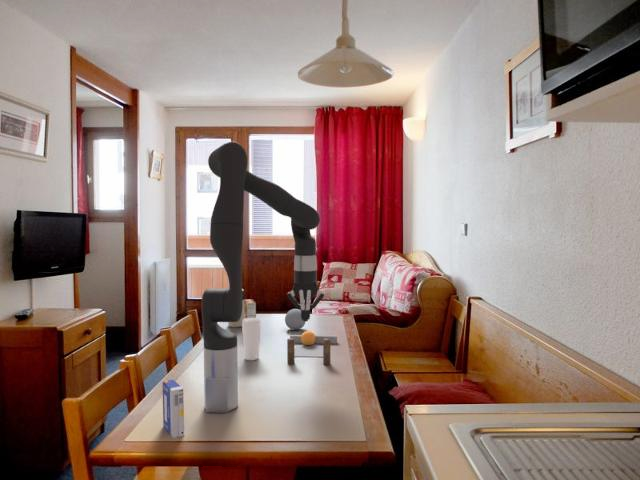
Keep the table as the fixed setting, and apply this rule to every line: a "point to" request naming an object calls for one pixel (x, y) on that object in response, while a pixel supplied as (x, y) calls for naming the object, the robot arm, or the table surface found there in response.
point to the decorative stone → (294, 319)
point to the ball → (308, 338)
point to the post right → (326, 351)
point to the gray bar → (316, 338)
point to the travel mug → (239, 323)
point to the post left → (290, 351)
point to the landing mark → (309, 351)
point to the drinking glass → (251, 337)
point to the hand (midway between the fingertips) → (305, 320)
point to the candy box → (250, 308)
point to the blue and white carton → (173, 408)
